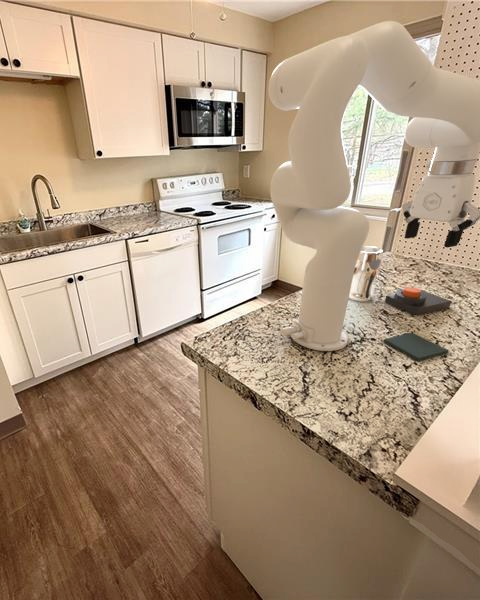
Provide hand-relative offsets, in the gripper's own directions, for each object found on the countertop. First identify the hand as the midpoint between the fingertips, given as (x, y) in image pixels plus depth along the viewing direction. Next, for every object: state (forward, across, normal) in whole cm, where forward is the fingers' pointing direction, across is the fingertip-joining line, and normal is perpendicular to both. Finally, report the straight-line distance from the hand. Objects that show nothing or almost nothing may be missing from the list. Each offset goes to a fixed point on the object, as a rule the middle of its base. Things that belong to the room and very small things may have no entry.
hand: (429, 241), depth 78 cm
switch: (+15, 0, -1) cm, 15 cm away
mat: (+19, +15, -16) cm, 29 cm away
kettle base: (+19, 0, +2) cm, 19 cm away
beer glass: (+19, -10, -7) cm, 22 cm away
